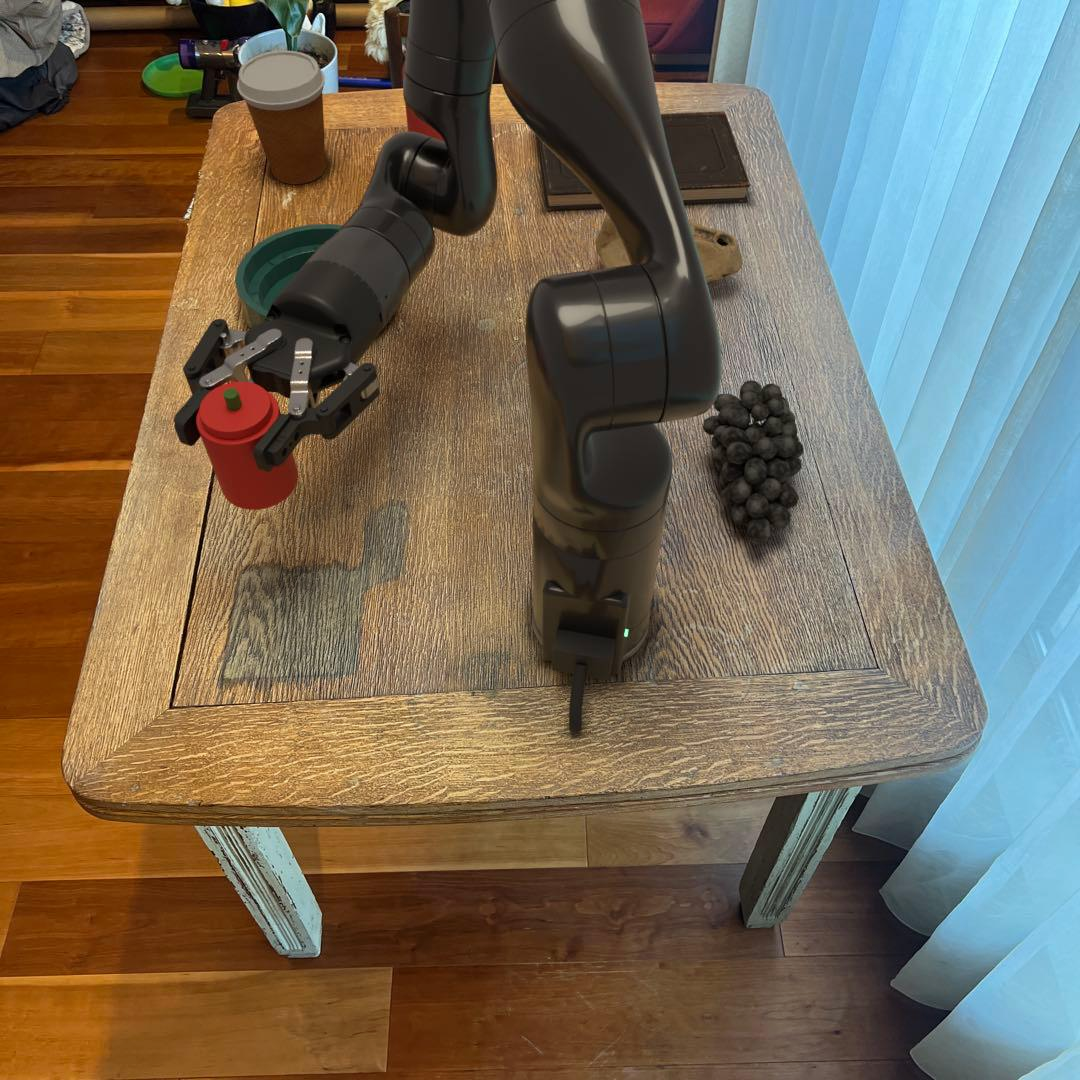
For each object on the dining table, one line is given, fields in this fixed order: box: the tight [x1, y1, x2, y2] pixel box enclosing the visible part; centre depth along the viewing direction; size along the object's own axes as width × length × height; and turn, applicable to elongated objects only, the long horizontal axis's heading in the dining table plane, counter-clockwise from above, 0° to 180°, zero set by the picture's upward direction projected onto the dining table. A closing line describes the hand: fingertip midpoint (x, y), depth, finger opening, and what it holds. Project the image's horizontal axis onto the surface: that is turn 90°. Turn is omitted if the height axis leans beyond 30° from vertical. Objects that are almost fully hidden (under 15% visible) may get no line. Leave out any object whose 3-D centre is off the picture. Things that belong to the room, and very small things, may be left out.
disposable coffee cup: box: [236, 50, 327, 185], centre depth 116 cm, size 10×10×12 cm
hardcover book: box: [535, 110, 751, 212], centre depth 120 cm, size 16×23×2 cm
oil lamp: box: [595, 212, 744, 283], centre depth 105 cm, size 11×15×8 cm
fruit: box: [702, 380, 805, 545], centre depth 87 cm, size 9×8×15 cm
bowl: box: [234, 223, 344, 329], centre depth 104 cm, size 16×16×4 cm
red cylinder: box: [196, 381, 299, 511], centre depth 72 cm, size 6×6×9 cm
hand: (221, 449), depth 69 cm, fingers closed on red cylinder, 5 cm apart
